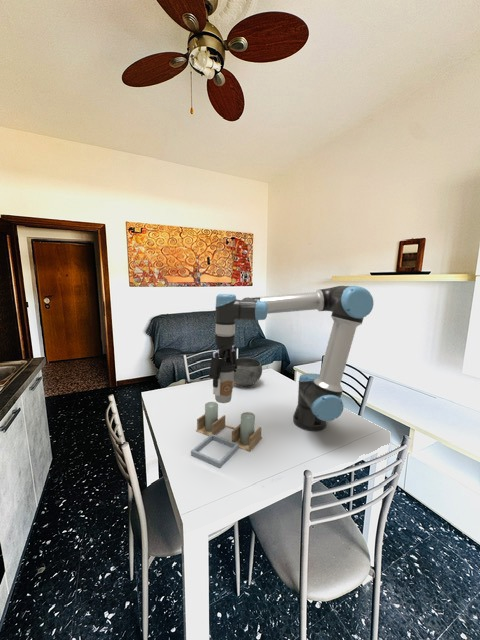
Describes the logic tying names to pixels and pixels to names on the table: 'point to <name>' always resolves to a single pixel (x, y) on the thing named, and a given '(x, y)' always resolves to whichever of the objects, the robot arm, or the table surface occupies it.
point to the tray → (213, 461)
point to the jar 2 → (246, 427)
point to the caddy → (220, 425)
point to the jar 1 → (210, 415)
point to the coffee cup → (226, 382)
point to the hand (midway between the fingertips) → (223, 390)
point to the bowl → (247, 371)
